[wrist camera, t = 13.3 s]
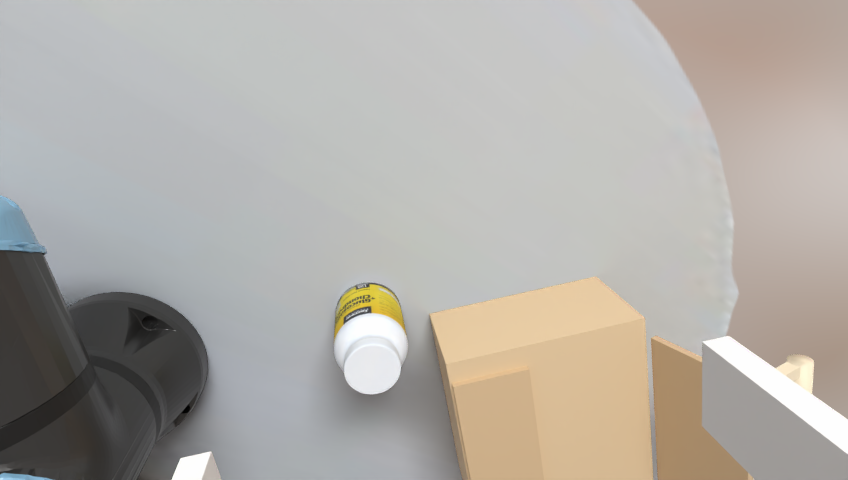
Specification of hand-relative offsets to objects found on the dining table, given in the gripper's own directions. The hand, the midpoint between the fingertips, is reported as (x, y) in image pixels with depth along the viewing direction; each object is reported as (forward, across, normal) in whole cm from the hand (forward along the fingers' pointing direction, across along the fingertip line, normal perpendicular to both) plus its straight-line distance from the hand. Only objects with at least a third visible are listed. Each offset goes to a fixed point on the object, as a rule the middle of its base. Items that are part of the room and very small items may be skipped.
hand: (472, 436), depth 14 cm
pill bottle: (+39, -4, -14) cm, 41 cm away
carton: (+39, +11, -25) cm, 47 cm away
